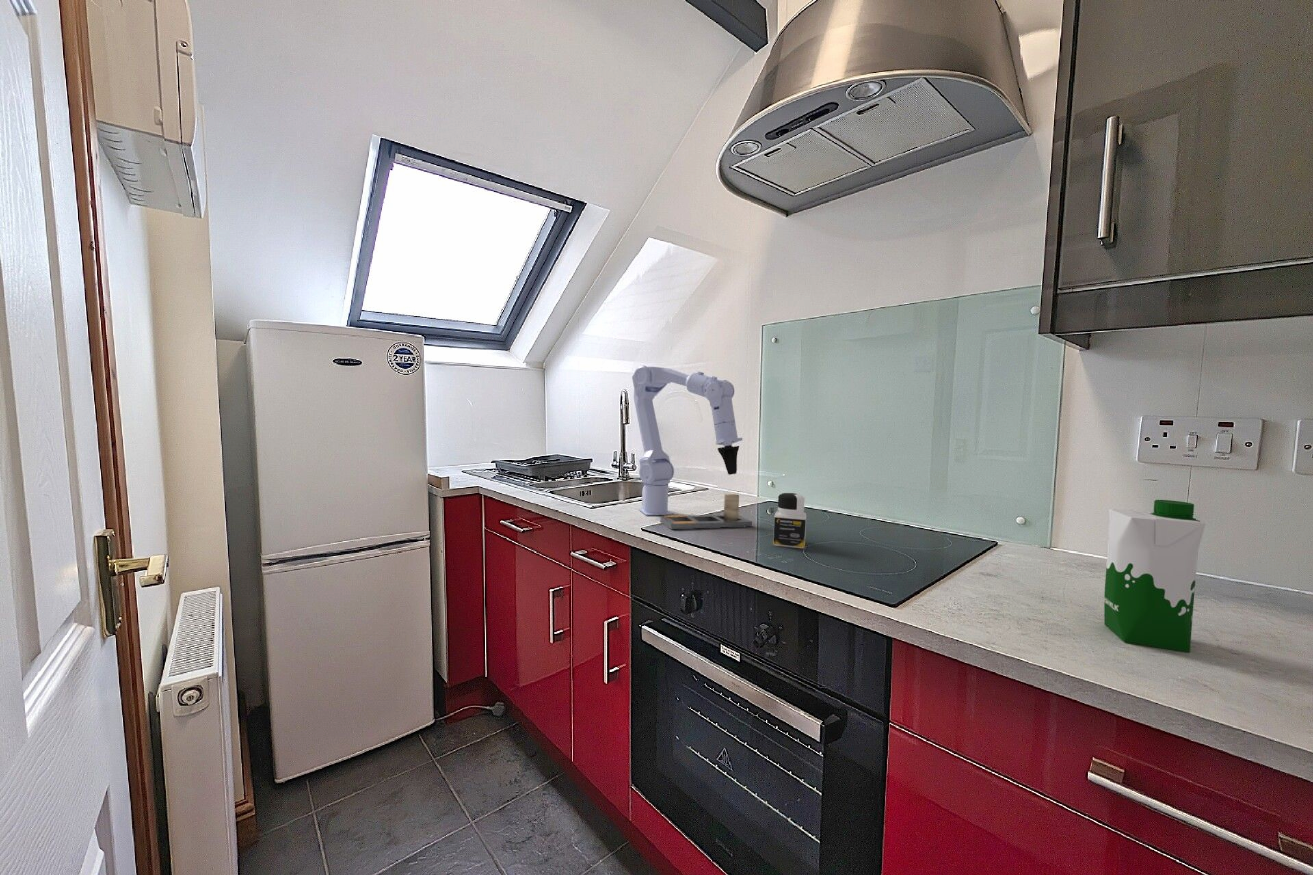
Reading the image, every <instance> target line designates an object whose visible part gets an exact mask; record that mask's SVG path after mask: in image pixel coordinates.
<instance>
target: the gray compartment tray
mask: <svg viewBox="0 0 1313 875" xmlns="http://www.w3.org/2000/svg"><path fill="white" fill-rule="evenodd" d="M659 516H660V518H659V519H660V523H661V524H662V525H664V526H665V527H667V528H668V529H669V528H670V529H669V530H671V529H683V530H691V529H690V528H710V529H721V528H720V527H738V528H745V527H744V526H752V527H753V521H752V520H750V519H748V518H746V517H743V516H741V515H739V514H738V520H733V521H725V520H724V514H702V515H701V514H700V515H699V514H698V515H693V514H692V515H685V514H676V515H675V514H672V515H659Z"/></svg>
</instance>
